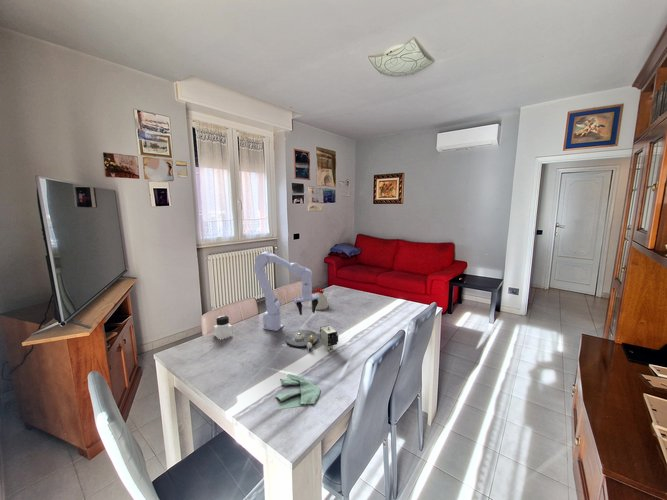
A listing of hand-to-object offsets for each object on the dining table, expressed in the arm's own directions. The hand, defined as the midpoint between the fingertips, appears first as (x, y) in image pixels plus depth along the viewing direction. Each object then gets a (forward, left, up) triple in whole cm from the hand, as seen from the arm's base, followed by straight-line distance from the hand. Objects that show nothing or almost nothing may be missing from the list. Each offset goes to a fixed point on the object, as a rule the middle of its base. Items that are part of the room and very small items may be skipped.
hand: (307, 313), depth 158 cm
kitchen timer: (-8, +35, -10) cm, 37 cm away
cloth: (+17, -50, -11) cm, 54 cm away
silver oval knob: (+12, -22, -10) cm, 26 cm away
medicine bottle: (-38, -25, -10) cm, 46 cm away
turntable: (+3, -13, -10) cm, 17 cm away
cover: (+3, -16, -8) cm, 18 cm away
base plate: (+3, -13, -10) cm, 17 cm away
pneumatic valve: (+20, -18, -10) cm, 29 cm away
